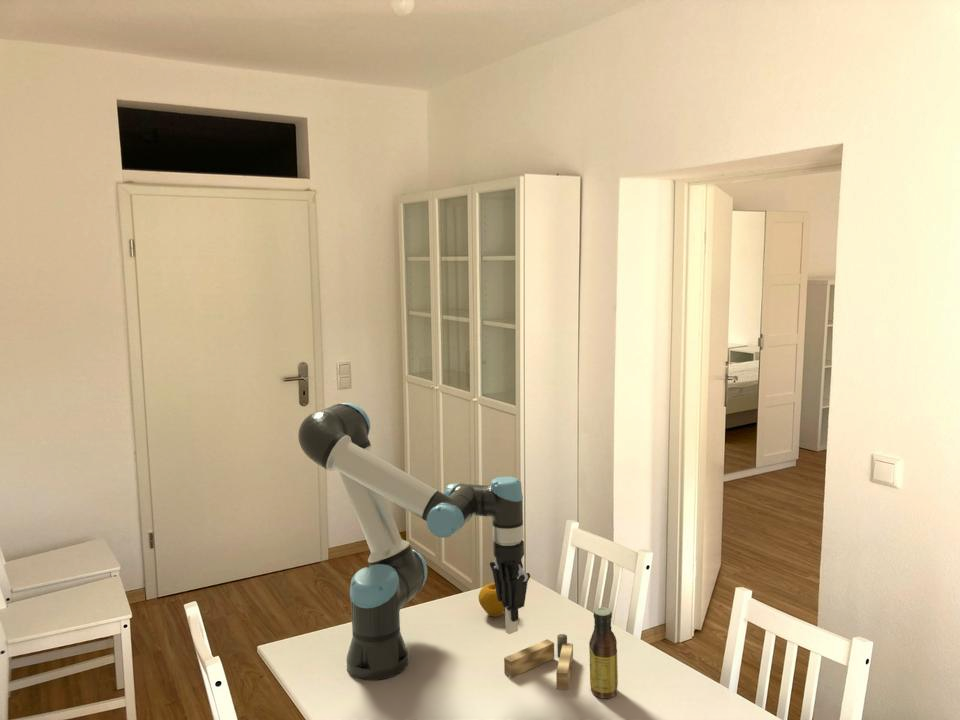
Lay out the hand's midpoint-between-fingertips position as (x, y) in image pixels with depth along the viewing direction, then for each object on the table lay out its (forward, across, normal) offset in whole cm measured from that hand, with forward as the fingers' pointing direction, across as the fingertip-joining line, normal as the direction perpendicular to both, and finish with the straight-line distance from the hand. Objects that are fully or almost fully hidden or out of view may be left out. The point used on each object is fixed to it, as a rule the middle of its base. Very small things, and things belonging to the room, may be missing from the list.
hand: (511, 631), depth 193 cm
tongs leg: (+6, -6, 0) cm, 9 cm away
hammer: (+7, -13, -5) cm, 15 cm away
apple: (+7, +21, -11) cm, 24 cm away
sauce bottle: (+7, -26, -5) cm, 27 cm away
